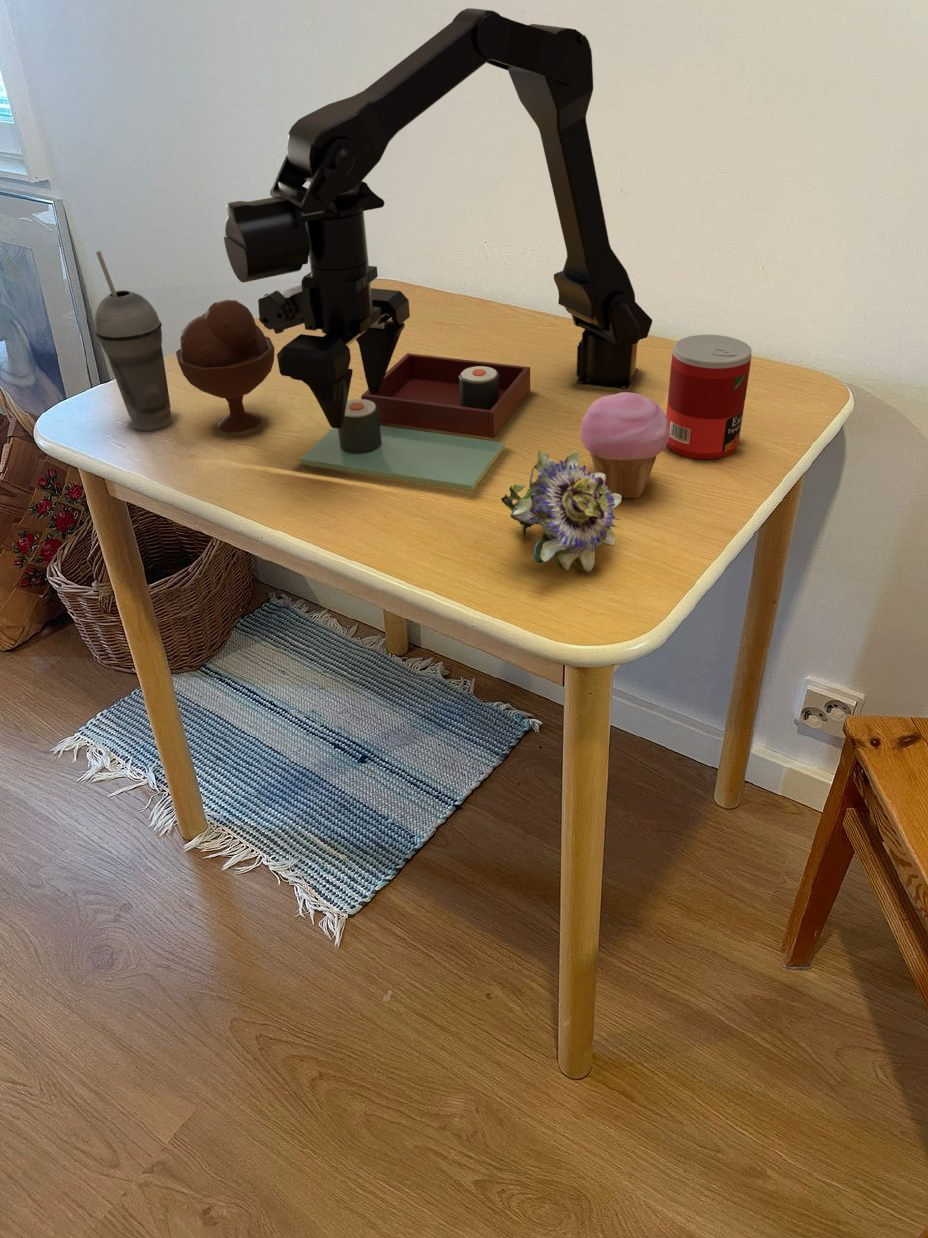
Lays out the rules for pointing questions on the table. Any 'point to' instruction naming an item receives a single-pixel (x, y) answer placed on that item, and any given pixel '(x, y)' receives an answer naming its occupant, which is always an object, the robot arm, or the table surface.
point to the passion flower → (566, 511)
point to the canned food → (707, 395)
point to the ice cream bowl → (226, 359)
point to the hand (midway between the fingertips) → (355, 409)
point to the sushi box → (445, 395)
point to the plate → (412, 457)
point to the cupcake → (624, 440)
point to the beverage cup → (134, 354)
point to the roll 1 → (360, 427)
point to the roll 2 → (479, 387)
